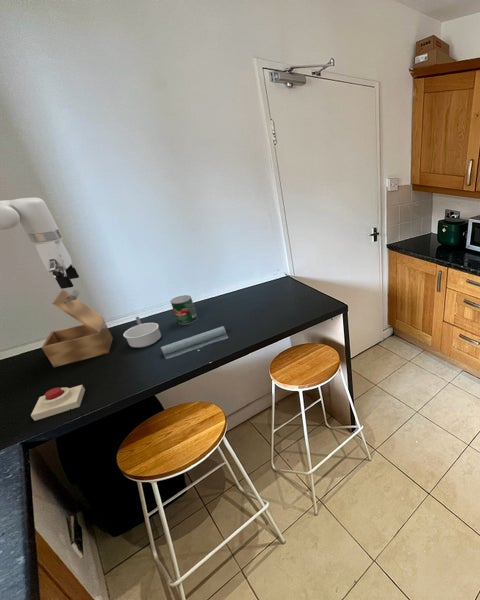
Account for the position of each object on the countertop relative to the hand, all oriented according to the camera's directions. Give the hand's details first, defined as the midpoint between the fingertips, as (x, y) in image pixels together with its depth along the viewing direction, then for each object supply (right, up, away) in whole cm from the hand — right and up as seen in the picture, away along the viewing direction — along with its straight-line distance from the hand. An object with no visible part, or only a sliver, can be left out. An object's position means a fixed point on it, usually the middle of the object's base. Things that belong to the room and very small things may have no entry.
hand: (70, 282), depth 113 cm
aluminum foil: (+37, -25, +14) cm, 47 cm away
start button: (+12, -36, -16) cm, 41 cm away
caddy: (-5, -27, +10) cm, 29 cm away
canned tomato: (+21, -16, +31) cm, 41 cm away
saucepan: (+11, -22, +19) cm, 31 cm away
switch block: (+12, -39, -15) cm, 44 cm away
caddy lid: (-1, -11, +4) cm, 12 cm away
